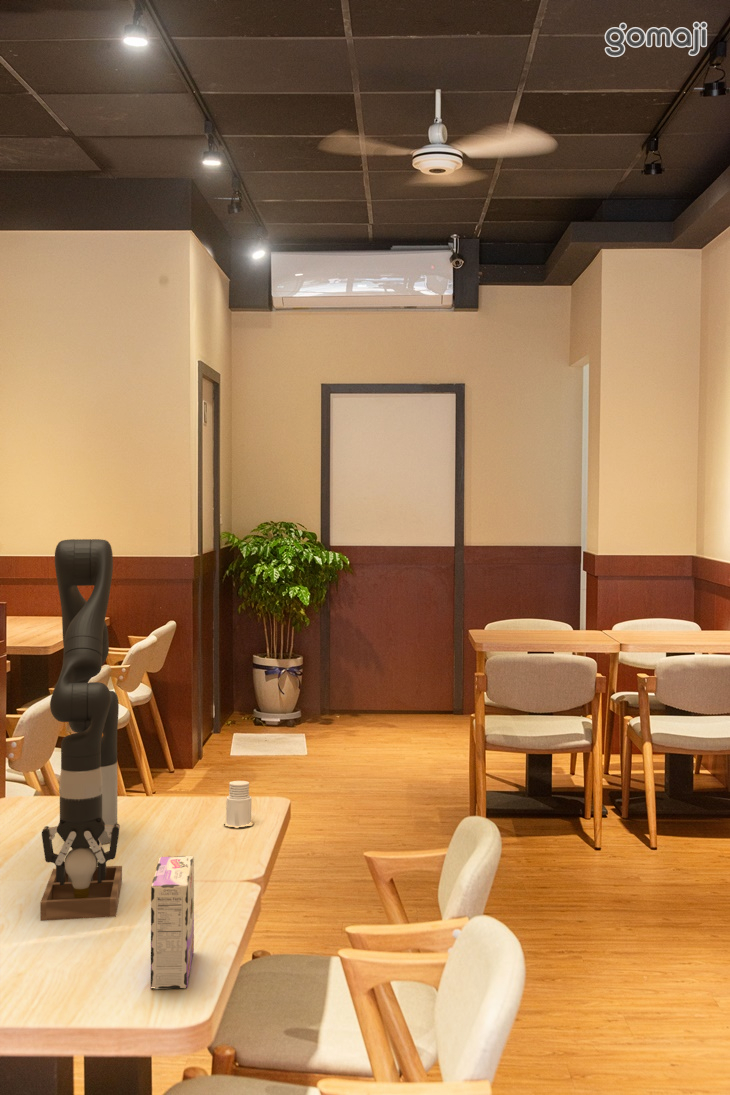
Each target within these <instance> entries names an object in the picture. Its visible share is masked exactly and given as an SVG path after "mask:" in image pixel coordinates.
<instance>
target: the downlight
mask: <svg viewBox="0 0 730 1095" xmlns="http://www.w3.org/2000/svg"><path fill="white" fill-rule="evenodd" d="M228 785H229V786H228V787H229V788H228V795H227V796H226V802H225V804H226V807H225V808H226V809H225V810H226V812H225V813H226V817H225V819H226V821H225V822H226V823H227V824H228V825H233V826H241V825H246V824H249V823H250V822H251V821H252V796H251V795H250V782H249V781H246V780H234V781H230V782H229V784H228Z"/></svg>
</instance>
